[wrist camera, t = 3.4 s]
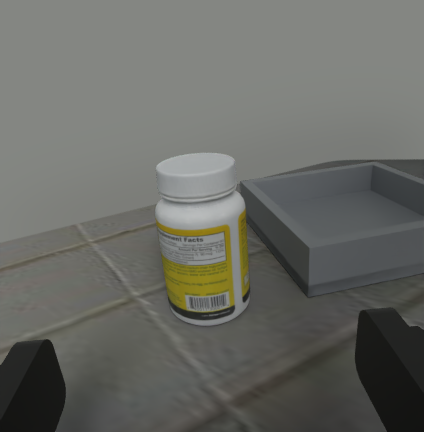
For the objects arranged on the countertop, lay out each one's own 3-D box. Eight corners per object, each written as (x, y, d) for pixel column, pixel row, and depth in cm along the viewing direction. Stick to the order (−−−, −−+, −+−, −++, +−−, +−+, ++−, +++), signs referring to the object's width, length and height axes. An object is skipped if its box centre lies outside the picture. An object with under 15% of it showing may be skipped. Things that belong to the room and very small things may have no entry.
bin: (372, 194, 35) (375, 161, 34) (497, 257, 23) (509, 211, 22) (241, 215, 33) (240, 181, 32) (308, 297, 21) (309, 248, 20)
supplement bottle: (212, 271, 25) (200, 146, 21) (267, 298, 21) (263, 157, 18) (153, 304, 22) (129, 166, 19) (206, 342, 19) (189, 183, 15)
